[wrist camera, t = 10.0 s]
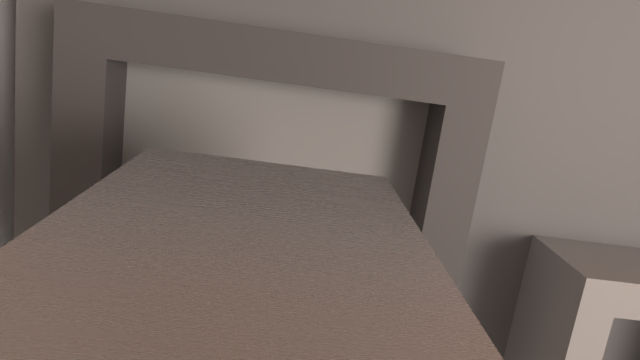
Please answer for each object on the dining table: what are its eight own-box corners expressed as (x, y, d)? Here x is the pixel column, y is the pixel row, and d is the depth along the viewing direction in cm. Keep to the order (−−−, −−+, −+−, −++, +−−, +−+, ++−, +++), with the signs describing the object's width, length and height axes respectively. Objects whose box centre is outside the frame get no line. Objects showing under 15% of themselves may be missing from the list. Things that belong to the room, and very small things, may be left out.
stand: (30, 371, 23) (-52, 470, 18) (38, -94, 19) (-64, -149, 14) (665, 432, 25) (765, 538, 20) (798, 23, 21) (971, 16, 15)
